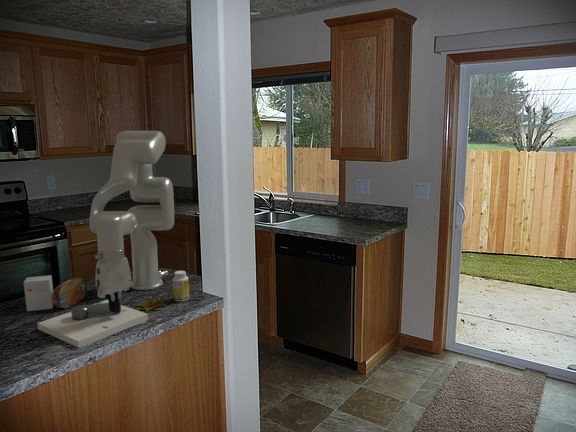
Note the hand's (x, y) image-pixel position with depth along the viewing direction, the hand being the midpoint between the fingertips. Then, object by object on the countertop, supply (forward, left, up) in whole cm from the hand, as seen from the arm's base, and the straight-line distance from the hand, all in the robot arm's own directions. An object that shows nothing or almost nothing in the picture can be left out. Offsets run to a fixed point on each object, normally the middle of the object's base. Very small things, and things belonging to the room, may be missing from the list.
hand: (114, 311), depth 149 cm
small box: (+6, -33, -4) cm, 34 cm away
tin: (-2, -28, -4) cm, 28 cm away
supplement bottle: (-27, +1, -4) cm, 27 cm away
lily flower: (-16, -3, -5) cm, 17 cm away
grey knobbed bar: (+3, -6, -2) cm, 7 cm away
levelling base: (+4, -5, -4) cm, 8 cm away
